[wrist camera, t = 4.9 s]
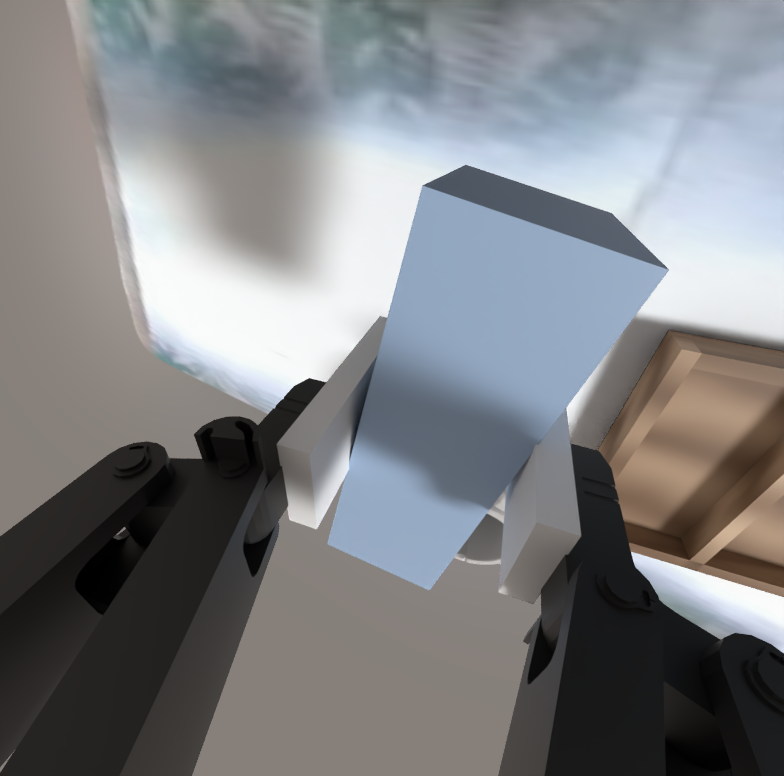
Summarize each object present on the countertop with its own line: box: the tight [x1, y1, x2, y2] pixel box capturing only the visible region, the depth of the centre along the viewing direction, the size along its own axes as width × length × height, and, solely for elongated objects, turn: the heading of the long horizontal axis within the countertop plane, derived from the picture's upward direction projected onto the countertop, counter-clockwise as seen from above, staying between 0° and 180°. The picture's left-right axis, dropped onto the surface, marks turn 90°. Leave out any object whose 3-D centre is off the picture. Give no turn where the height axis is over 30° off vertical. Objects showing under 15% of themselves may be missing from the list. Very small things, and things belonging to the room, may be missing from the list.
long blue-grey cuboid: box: [328, 165, 669, 590], centre depth 11 cm, size 12×4×5 cm, turn 166°
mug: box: [454, 489, 506, 564], centre depth 25 cm, size 8×12×12 cm, turn 155°
